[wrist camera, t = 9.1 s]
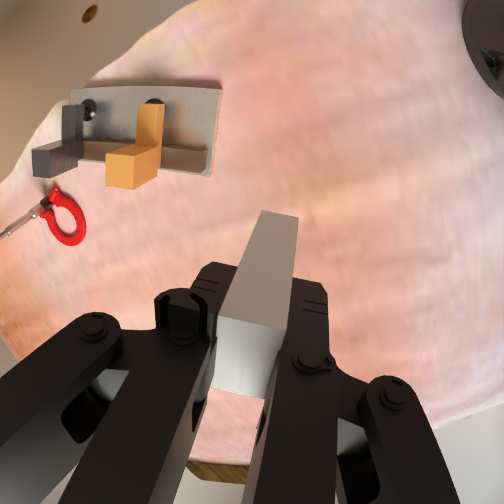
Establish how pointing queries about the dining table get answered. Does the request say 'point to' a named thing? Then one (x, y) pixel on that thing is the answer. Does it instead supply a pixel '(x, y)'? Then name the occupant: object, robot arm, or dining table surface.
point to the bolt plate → (174, 125)
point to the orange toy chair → (138, 151)
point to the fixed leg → (62, 145)
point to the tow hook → (53, 218)
